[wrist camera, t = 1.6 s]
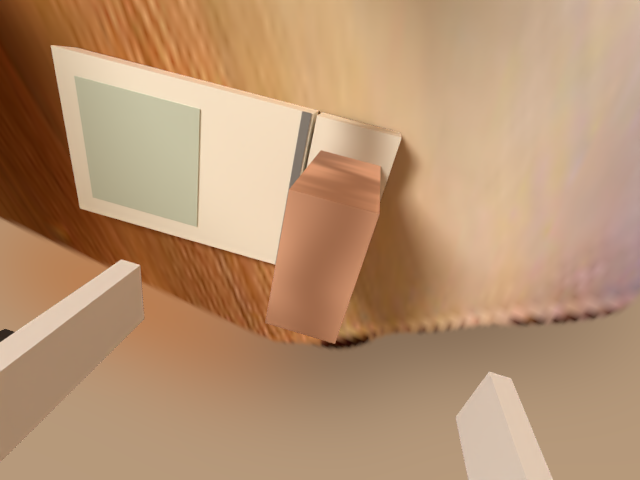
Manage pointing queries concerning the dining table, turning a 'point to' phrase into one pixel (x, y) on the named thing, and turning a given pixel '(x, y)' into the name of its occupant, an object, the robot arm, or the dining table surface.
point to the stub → (329, 225)
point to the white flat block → (181, 151)
